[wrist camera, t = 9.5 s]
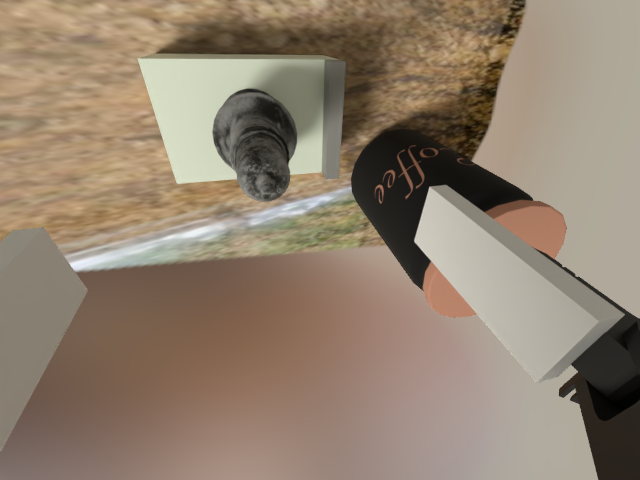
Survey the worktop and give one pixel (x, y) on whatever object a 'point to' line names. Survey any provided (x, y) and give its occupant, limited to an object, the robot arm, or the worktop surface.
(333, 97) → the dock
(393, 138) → the coffee jar
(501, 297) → the robot arm
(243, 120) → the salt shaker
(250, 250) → the worktop surface
